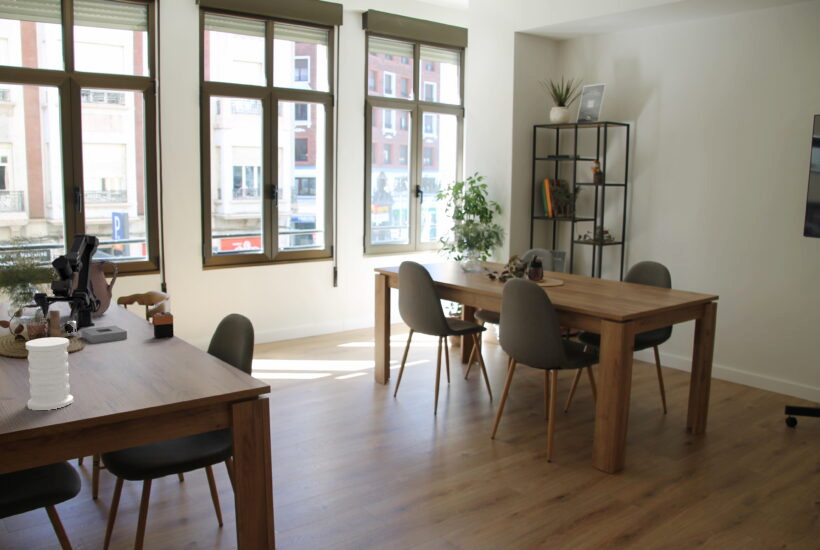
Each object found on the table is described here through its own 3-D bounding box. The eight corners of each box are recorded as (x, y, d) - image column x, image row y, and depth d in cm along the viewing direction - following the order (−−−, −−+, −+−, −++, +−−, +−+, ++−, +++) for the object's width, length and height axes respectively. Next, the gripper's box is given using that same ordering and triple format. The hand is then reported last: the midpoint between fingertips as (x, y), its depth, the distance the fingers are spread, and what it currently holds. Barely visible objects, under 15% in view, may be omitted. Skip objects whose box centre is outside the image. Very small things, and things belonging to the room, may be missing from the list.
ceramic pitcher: (72, 312, 325) (69, 258, 322) (121, 310, 331) (119, 257, 328) (65, 320, 309) (63, 263, 305) (117, 318, 315) (115, 262, 311)
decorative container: (31, 413, 192) (27, 348, 189) (24, 401, 201) (20, 340, 198) (77, 406, 198) (74, 343, 196) (69, 395, 208) (66, 335, 205)
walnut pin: (50, 345, 265) (48, 311, 263) (59, 344, 267) (58, 310, 265) (52, 346, 262) (51, 312, 261) (62, 345, 264) (60, 311, 263)
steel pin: (66, 336, 280) (66, 321, 279) (75, 335, 282) (74, 320, 281) (69, 337, 277) (68, 322, 276) (77, 336, 279) (77, 321, 278)
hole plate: (81, 337, 278) (81, 329, 278) (115, 332, 287) (115, 325, 287) (92, 343, 269) (92, 335, 268) (127, 338, 277) (126, 331, 277)
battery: (173, 337, 281) (173, 312, 280) (156, 339, 278) (155, 314, 276) (171, 335, 285) (170, 310, 284) (153, 336, 282) (153, 312, 280)
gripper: (33, 271, 267) (24, 305, 258) (86, 271, 270) (78, 305, 261) (42, 289, 276) (33, 322, 267) (92, 289, 279) (85, 322, 270)
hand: (57, 317), depth 266 cm, fingers open, 9 cm apart
